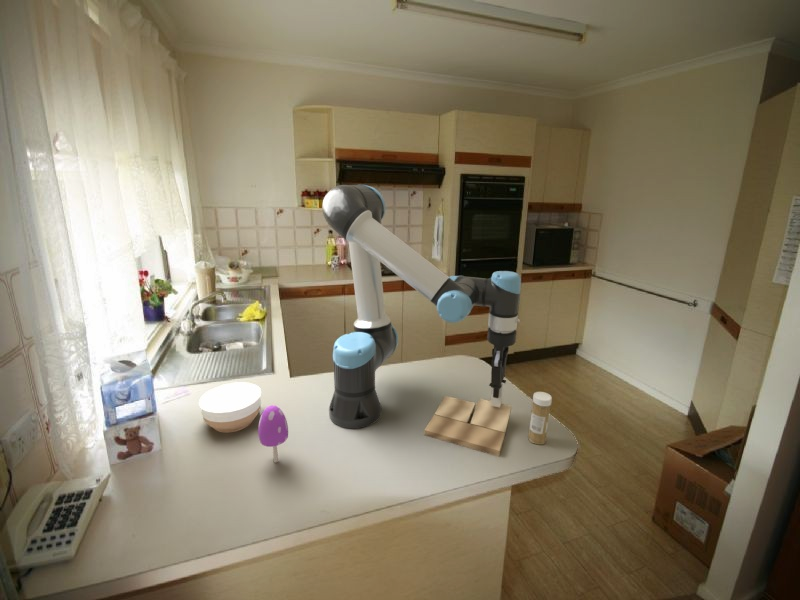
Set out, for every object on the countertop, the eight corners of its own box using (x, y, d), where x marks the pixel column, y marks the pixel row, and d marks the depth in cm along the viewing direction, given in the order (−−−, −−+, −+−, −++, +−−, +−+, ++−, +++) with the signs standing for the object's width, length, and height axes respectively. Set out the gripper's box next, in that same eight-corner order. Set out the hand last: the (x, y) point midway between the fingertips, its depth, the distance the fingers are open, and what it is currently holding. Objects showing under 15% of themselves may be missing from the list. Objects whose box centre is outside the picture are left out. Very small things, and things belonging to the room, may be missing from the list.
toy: (274, 474, 90) (269, 418, 86) (255, 463, 93) (249, 408, 89) (296, 458, 95) (292, 404, 91) (277, 448, 99) (273, 396, 94)
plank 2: (470, 426, 108) (470, 423, 108) (478, 401, 116) (478, 398, 116) (504, 435, 105) (505, 432, 104) (511, 408, 113) (511, 405, 112)
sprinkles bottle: (549, 441, 103) (555, 396, 100) (538, 447, 101) (544, 401, 97) (534, 432, 107) (540, 389, 103) (523, 438, 105) (529, 393, 101)
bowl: (238, 400, 120) (236, 377, 118) (275, 415, 113) (273, 391, 110) (189, 426, 107) (185, 401, 105) (227, 446, 99) (224, 419, 97)
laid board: (424, 435, 105) (424, 429, 105) (435, 416, 113) (435, 412, 113) (498, 456, 97) (499, 450, 97) (505, 435, 106) (505, 430, 105)
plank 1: (434, 417, 112) (434, 414, 112) (444, 398, 121) (445, 395, 121) (466, 425, 109) (466, 422, 108) (475, 406, 117) (475, 402, 117)
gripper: (512, 339, 98) (505, 420, 105) (519, 322, 110) (512, 395, 117) (483, 335, 101) (477, 414, 108) (493, 318, 113) (487, 390, 120)
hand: (495, 404), depth 112 cm, fingers closed
